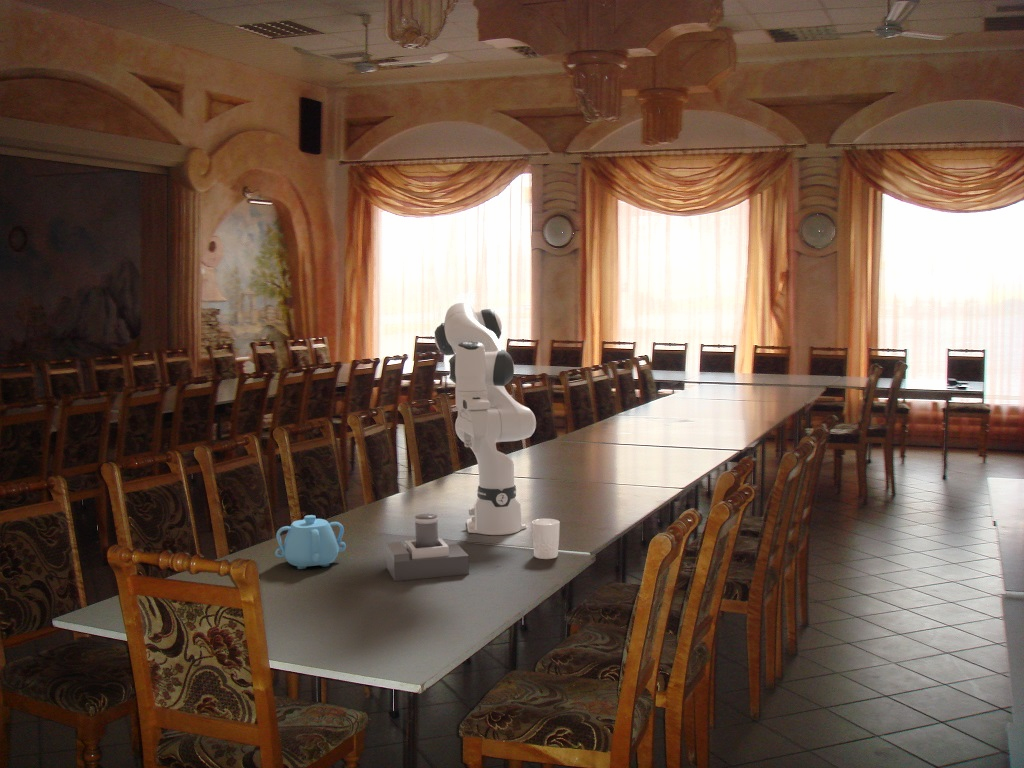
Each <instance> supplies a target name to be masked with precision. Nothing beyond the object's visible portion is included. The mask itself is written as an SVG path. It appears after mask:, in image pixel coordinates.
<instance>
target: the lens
mask: <svg viewBox="0 0 1024 768" xmlns="http://www.w3.org/2000/svg"><path fill="white" fill-rule="evenodd" d="M438 519H439V517H438V515H437V514H435V513H421V514H416V515H415V516H414V524H415V526H414V528H415V530H414V532H415V540H416V548H425V547H437V546H438V538H439V535H438V534H439V528H438V527H439V525H438V523H439V522H438V521H439V520H438Z"/></svg>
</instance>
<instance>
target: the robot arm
mask: <svg viewBox="0 0 1024 768" xmlns="http://www.w3.org/2000/svg"><path fill="white" fill-rule="evenodd" d="M501 335H502V321H501V318H500V317H499V315H498V314H497V313H496V312H495V310H493V309H492V308H491V309H490V308H488V309H487V308H485V309H481V310H479V311H475V310H474V308H472V306H471V305H469V304H468V303H464V302H459V303H455V304H453V305H451V306H450V307H449V308H448V309H447V311H446V314H445V316H444V322H441V323H440V324H439V325H438V326H437V327H436V328H435V331H434V342H435V345H436V348H437V349H438V350H439V351H440V354H442V355H444V356H451V358H449V360H448V363H449V380H450V381H451V382H452V383H454V384H455V391H454V393H455V407H456V408H457V418H456V419H455V423H454V429H455V434H456V435H457V437H458V438H459V439H460V440H461V442H463V445H464V447H465V448H470V449H471V451H472V452H473V454H474V455H475V456H474V457H475V458H476V462H477V467H478V486H477V491H476V492H477V499H476V500H475V502H474V504H473V506H472V507H471V508H470V507H469V508H468V516H471V518H468V519H466V522H465V523H466V528H467V532H468V533H470V534H481V535H489V536H496V535H497V536H501V535H505V536H506V535H512V534H516V533H518V532H520V531H521V530H525V529H527V524H525V523H523V520H522V518H523V517H522V507H521V506H522V504H521V502H520V501H518V499H517V498H516V497H517V487H516V484H515V462H514V461H513V459H512V458H511V456H509V455H507V454H505V453H504V452H501V451H499V450H498V449H497V443H502V442H503V443H504V442H517V441H520V440H521V441H522V440H525V439H528V438H530V437H532V435H533V434H534V433H535V430H536V428H537V420H536V416H535V414H534V412H533V411H532V410H531V409H530V408H529V407H528V406H525V405H523V404H521V403H519V402H518V401H517V400H515V399H514V398H513V396H511V395H510V394H509V392H508V391H507V389H506V387H505V386H506V385H507V384H508V383H510V382H511V381H512V380H513V378H514V375H515V365H514V364H515V363H514V360H513V357H512V356H511V354H510V353H509V352H507V350H506V349H505V347H504V346H503V344H502V342H501V341H500V338H501Z"/></svg>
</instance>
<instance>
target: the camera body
mask: <svg viewBox="0 0 1024 768" xmlns="http://www.w3.org/2000/svg"><path fill="white" fill-rule="evenodd" d="M404 543H405V546H404ZM404 543H402V542H401V541H393V542H386V543H385V548H386V549H385V552H386V553H385V554H386V569H387V571H388V572H389V574H390V576H391V577H392V579H393V580H394V582H398V581H408V580H418V579H429V578H431V579H432V578H438V577H439V578H441V577H451V576H452V577H453V576H462V575H463V576H464V575H469V574H470V565H469V564H470V560H469V559H470V558H469V557H470V555H469V554H468V553H467V552H466V551H465V550H464V549H463V548H462V547H461V546H460V545H459V543H454V544H447V543H446V542H445V541H444V540H443V539H442V537H438V546H437V547H425V548H416V539H412V540H405V542H404Z"/></svg>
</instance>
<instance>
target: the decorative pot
mask: <svg viewBox="0 0 1024 768" xmlns="http://www.w3.org/2000/svg"><path fill="white" fill-rule="evenodd" d="M335 526H337V527H339V534H338V537H336V533H335V531H334V530H333V527H335ZM283 531H287V533H286V536H285V539H284V543H283V541H282V537H281V534H282V532H283ZM344 532H345V528H344V526H343V524H342V523H340V522H338V521H332V522H329V521H328V520H326V519H323V518H316V515H315V514H314V515H313V514H310V515H309V514H307V515H305V516H304V517H303V519H299V520H294V521H293V522H292V523H291V524H290V526H289V525H286V526H282V527H280V528H279V529H278V530H277V532H276V535H275V536H276V537H275V538H276V541H277V543H278V545H279V547H278V548H277V549H276V550H275V552H274V554H275V556H276V557H277V558H279V559H281V558H284V559H285V560H286V561H287V562H288V564H290V565H291V566H295V567H296V569H298V570H304V569H305V570H306V569H307V567H315V566H320V567H329V566H330V565H331V564H332V563H334V562H335V560H336V558H337V557H338V554H339V552H344V551H345V550H346V548H347V545H346V543H345V542H344V541H342V539H343V537H344ZM341 545H342V547H340V546H341ZM280 551H281V553H279V552H280Z"/></svg>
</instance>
